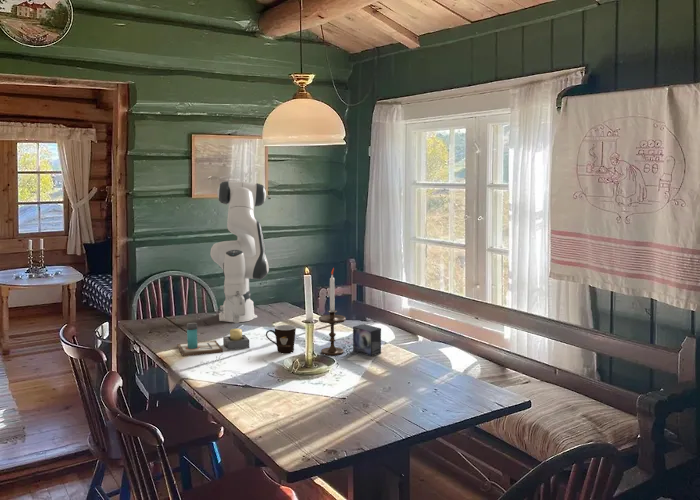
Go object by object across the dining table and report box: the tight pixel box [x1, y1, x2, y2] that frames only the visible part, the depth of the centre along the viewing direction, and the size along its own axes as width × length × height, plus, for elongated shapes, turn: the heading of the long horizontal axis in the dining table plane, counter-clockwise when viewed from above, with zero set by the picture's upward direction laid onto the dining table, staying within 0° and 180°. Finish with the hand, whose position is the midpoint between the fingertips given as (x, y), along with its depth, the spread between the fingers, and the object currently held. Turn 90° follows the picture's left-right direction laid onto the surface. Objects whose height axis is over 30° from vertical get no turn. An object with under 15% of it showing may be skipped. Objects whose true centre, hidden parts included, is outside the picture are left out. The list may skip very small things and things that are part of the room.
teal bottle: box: [186, 322, 198, 349], centre depth 275 cm, size 4×4×10 cm
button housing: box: [222, 334, 250, 351], centre depth 283 cm, size 9×9×4 cm
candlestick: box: [318, 267, 347, 357], centre depth 271 cm, size 11×11×35 cm
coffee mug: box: [265, 324, 297, 355], centre depth 275 cm, size 12×9×10 cm
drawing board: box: [176, 339, 224, 357], centre depth 278 cm, size 15×16×1 cm
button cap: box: [229, 328, 243, 341], centre depth 282 cm, size 5×5×4 cm
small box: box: [352, 323, 382, 357], centre depth 273 cm, size 11×6×10 cm, turn 44°
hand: (236, 322), depth 281 cm, fingers closed
